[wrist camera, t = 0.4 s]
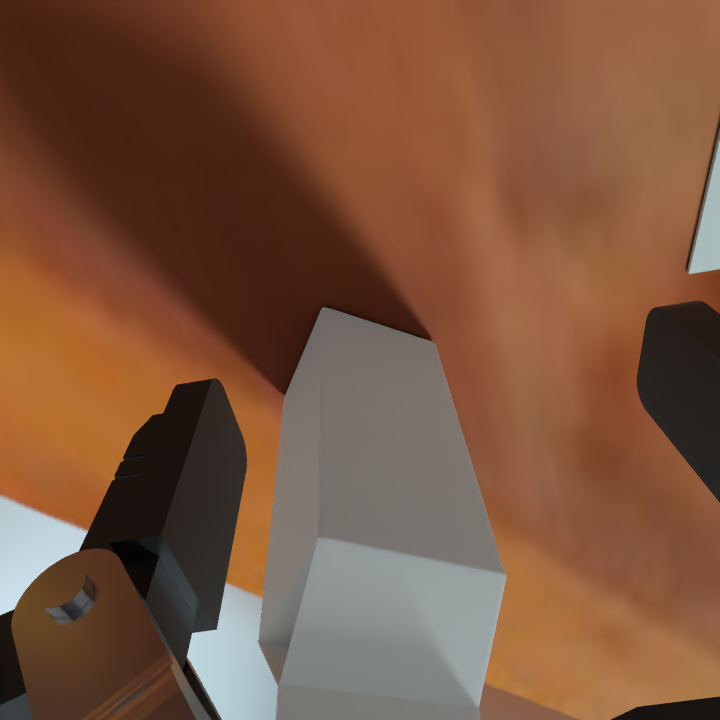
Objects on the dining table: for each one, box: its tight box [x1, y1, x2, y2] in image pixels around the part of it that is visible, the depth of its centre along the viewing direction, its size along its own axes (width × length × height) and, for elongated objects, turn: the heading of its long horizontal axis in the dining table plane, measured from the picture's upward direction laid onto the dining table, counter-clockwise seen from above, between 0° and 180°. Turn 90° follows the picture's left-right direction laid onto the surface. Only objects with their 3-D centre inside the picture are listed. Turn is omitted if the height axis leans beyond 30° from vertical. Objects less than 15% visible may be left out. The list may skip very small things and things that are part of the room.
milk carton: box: [258, 307, 507, 720], centre depth 24 cm, size 7×7×19 cm
